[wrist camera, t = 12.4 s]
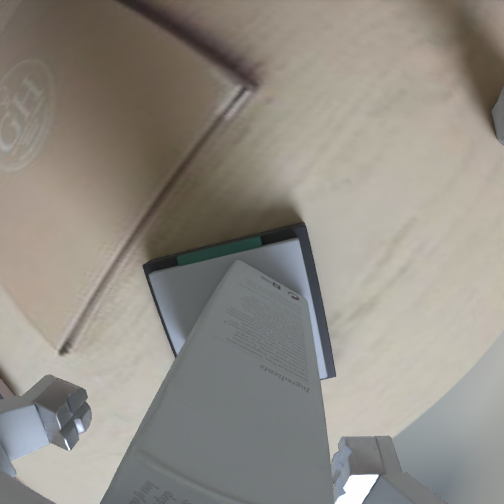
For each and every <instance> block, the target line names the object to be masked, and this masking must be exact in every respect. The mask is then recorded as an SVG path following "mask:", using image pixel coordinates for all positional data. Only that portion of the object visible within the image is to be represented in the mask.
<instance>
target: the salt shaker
mask: <svg viewBox="0 0 504 504" xmlns="http://www.w3.org/2000/svg"><path fill="white" fill-rule="evenodd" d="M491 112H492V116H493V121H494V126H495V131H496V136H497V139H498V140H499V141H500V142H501V143H502V144H503V145H504V85H503V88H502V91H501V93H500V96H499V98H498V101H497V103H496V104H495V106H494V107H493V109H492V110H491Z"/></svg>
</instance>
